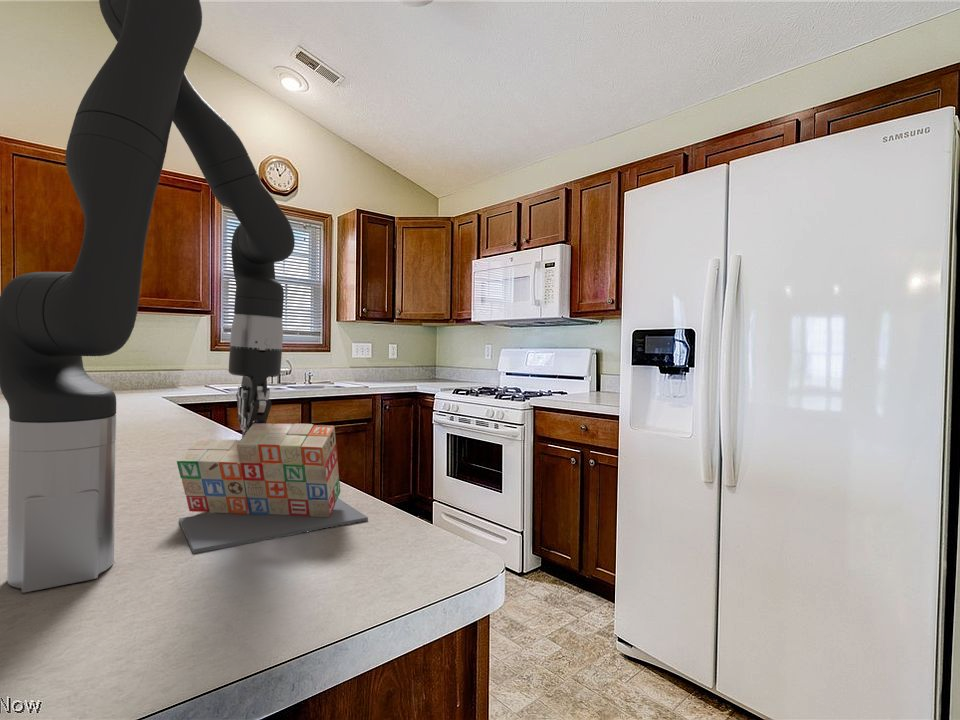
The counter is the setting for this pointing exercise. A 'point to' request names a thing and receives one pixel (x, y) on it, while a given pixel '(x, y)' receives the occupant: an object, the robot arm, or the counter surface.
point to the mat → (258, 526)
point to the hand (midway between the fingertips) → (249, 454)
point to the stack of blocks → (264, 472)
